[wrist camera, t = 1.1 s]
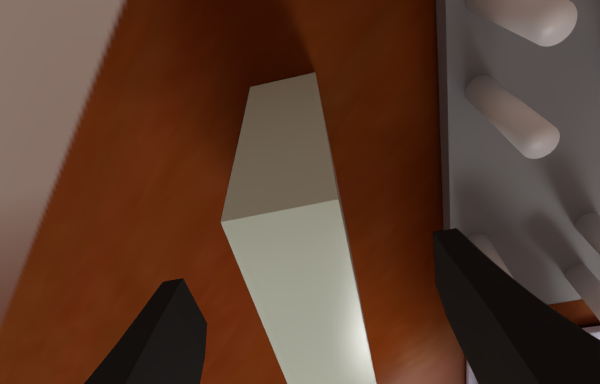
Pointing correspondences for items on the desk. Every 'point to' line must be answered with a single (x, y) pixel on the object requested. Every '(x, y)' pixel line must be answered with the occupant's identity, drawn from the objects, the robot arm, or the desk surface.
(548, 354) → the robot arm
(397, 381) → the desk surface
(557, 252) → the dish rack
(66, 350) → the desk surface
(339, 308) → the pale rectangular block
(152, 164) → the desk surface
